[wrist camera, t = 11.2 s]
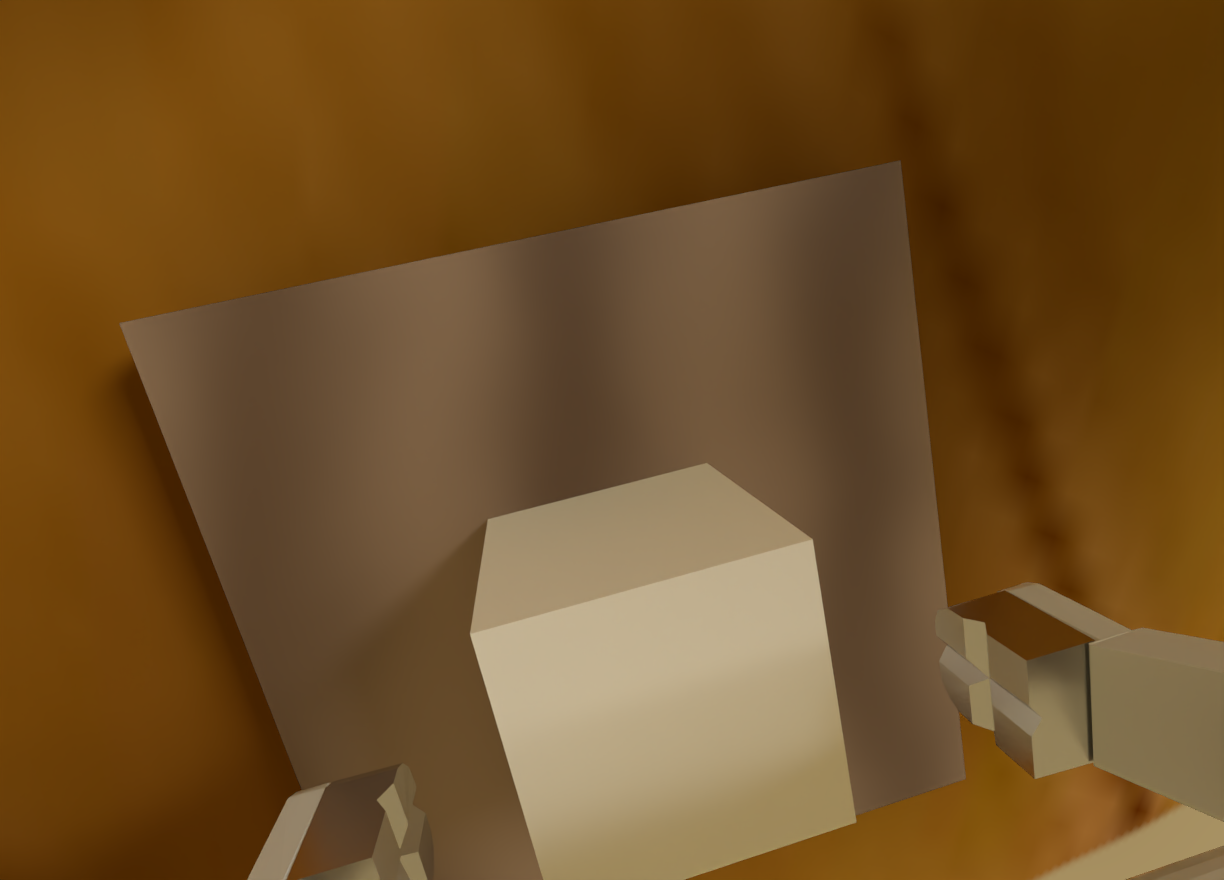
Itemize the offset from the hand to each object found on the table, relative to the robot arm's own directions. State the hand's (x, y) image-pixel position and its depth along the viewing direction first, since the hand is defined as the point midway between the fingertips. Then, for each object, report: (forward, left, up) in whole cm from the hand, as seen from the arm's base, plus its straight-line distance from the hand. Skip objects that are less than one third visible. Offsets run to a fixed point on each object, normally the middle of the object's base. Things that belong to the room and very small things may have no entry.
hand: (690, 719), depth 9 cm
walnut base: (0, 0, -7) cm, 7 cm away
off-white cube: (0, 0, -5) cm, 5 cm away
